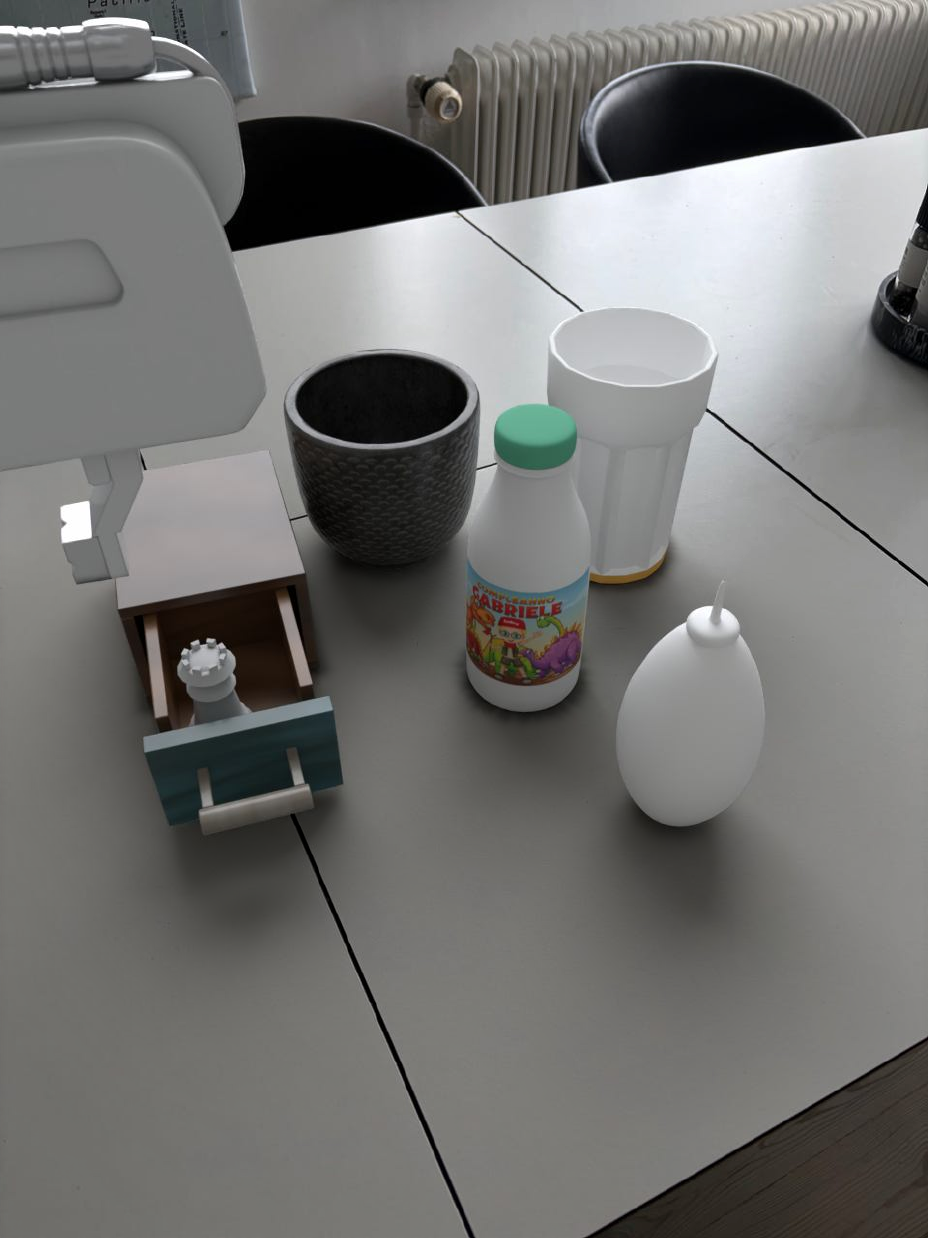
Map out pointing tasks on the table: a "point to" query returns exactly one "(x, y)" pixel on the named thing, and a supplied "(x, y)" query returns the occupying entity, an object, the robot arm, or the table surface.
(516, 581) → the milk bottle
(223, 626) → the drawer
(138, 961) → the table surface
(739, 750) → the sauce bottle
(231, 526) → the cabinet
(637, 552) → the cup
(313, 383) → the planter
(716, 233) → the table surface
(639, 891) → the table surface
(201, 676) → the rook chess piece
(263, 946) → the table surface
